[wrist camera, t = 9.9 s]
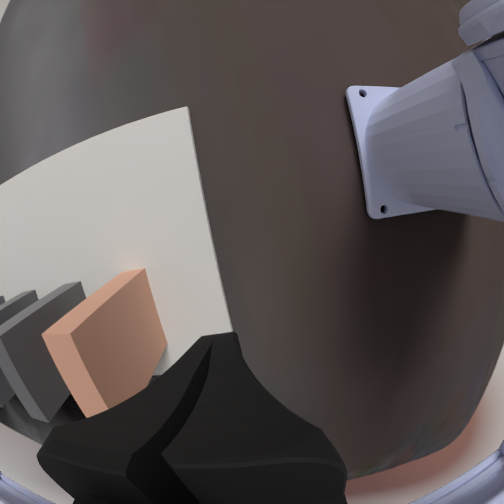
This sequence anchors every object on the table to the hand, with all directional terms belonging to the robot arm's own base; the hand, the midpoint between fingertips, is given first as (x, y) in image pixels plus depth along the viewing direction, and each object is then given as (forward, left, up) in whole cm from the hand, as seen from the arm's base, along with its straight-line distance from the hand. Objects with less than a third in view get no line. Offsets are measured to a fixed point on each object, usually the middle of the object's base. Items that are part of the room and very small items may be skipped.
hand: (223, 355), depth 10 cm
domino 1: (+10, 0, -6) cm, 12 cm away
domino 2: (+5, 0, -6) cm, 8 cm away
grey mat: (+14, -3, -6) cm, 16 cm away
